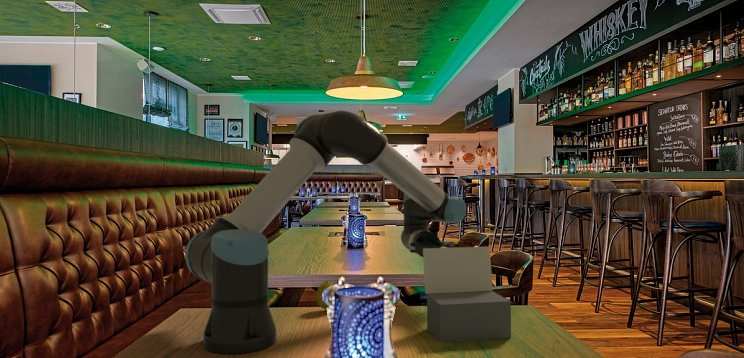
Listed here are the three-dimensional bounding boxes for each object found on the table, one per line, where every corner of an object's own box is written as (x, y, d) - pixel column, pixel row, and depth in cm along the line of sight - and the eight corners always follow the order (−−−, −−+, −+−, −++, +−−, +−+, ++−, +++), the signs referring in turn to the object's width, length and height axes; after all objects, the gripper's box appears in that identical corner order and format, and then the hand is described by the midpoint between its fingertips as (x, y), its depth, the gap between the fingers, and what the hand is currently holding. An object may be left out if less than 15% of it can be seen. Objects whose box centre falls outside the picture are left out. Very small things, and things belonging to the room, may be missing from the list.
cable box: (440, 342, 107) (440, 304, 107) (427, 328, 117) (426, 294, 117) (510, 337, 110) (510, 301, 110) (491, 324, 120) (491, 291, 120)
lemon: (334, 314, 129) (334, 283, 129) (313, 313, 130) (313, 282, 130) (340, 309, 134) (340, 279, 134) (320, 308, 135) (320, 278, 135)
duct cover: (423, 248, 119) (422, 248, 119) (426, 293, 117) (425, 293, 118) (489, 246, 121) (488, 246, 122) (492, 290, 120) (491, 290, 120)
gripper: (445, 255, 149) (476, 270, 125) (402, 257, 146) (426, 272, 123) (445, 230, 149) (476, 240, 125) (402, 231, 146) (425, 241, 123)
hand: (451, 256), depth 124 cm, fingers closed
